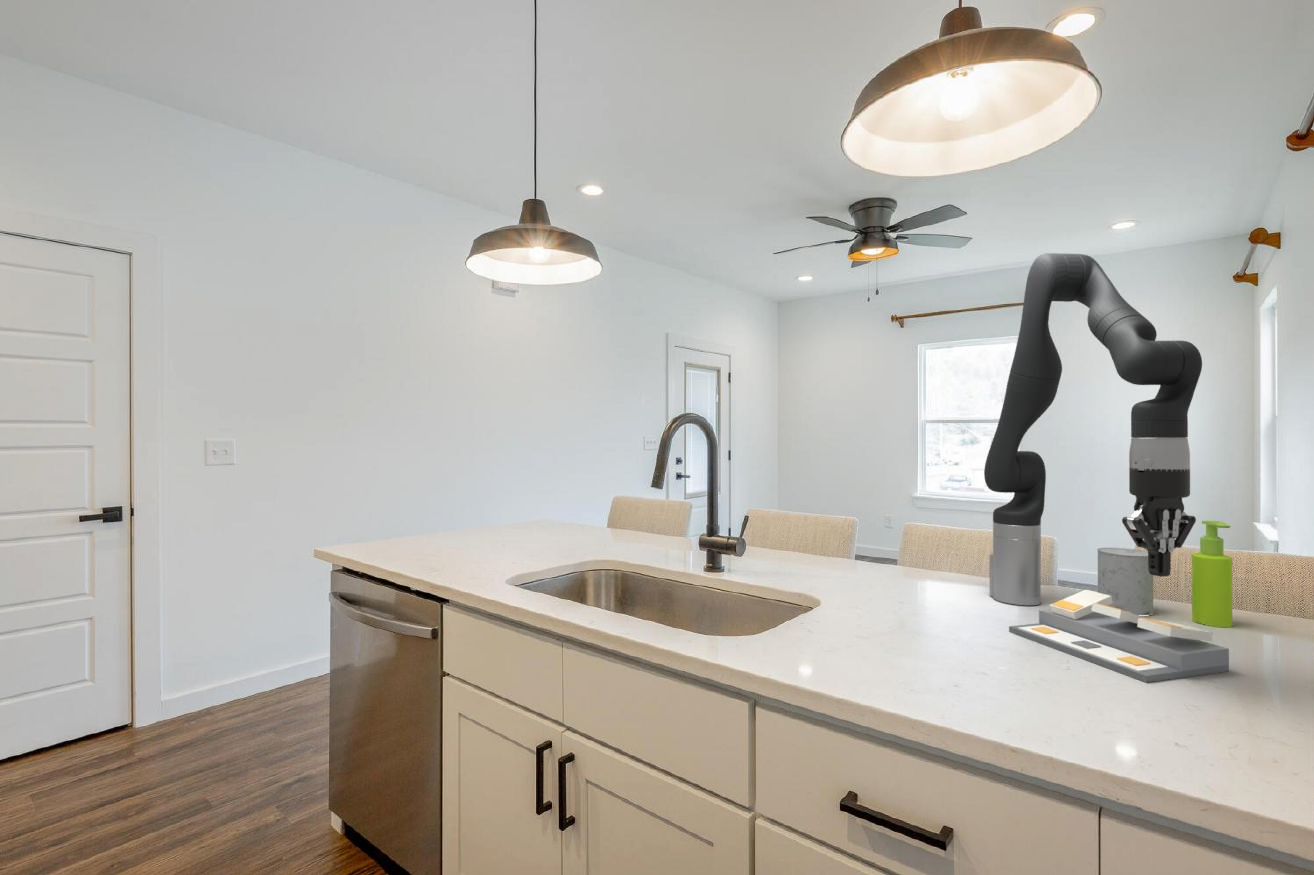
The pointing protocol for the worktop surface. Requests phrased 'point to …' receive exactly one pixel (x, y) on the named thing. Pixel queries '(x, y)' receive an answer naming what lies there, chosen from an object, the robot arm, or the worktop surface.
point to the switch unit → (1126, 646)
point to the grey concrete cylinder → (1126, 579)
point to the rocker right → (1174, 629)
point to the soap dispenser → (1212, 580)
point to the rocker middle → (1116, 613)
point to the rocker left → (1079, 604)
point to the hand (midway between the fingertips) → (1159, 575)
